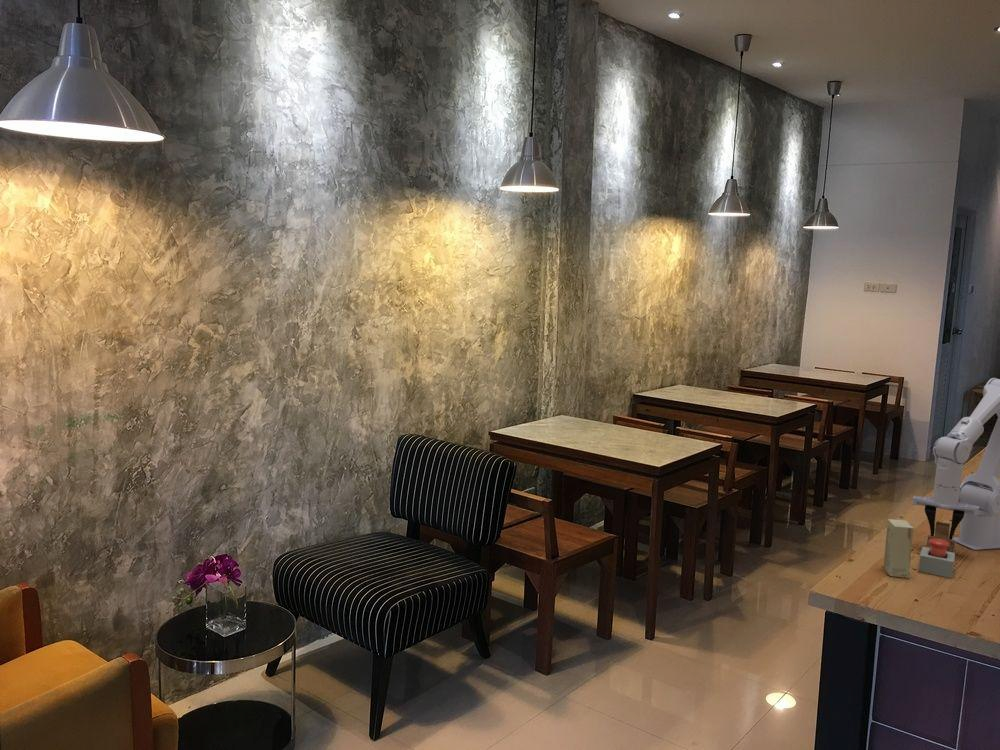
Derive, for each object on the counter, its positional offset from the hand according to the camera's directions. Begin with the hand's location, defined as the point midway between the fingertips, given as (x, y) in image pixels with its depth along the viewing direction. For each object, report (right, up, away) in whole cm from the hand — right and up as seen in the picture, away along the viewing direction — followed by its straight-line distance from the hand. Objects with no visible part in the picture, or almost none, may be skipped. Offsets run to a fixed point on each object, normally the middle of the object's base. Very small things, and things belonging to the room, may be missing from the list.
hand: (941, 536), depth 206 cm
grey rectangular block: (-7, -6, -11) cm, 15 cm away
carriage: (0, -4, +1) cm, 4 cm away
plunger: (-7, -3, -12) cm, 14 cm away
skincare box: (-18, -6, -13) cm, 23 cm away
